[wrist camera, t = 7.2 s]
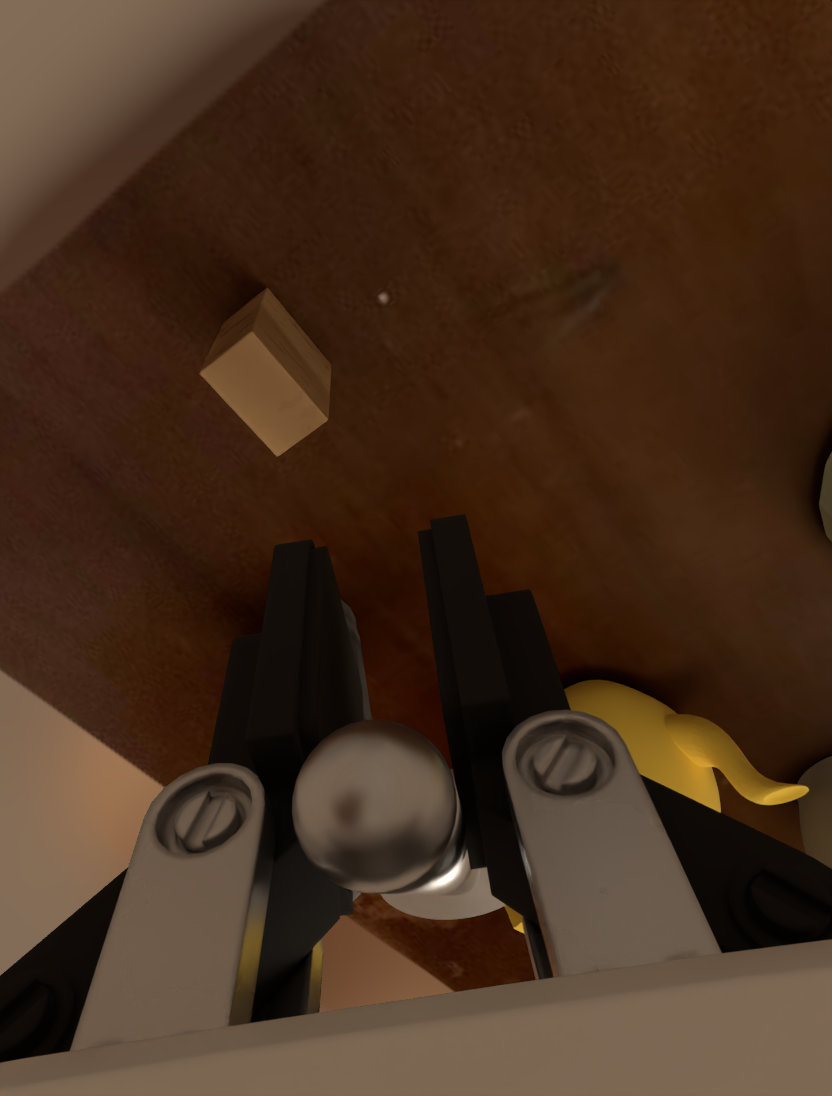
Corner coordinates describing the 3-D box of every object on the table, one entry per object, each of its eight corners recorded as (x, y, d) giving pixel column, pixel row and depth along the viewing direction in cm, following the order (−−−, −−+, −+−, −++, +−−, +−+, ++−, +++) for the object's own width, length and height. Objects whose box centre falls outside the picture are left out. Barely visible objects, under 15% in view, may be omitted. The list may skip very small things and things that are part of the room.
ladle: (529, 850, 26) (635, 1335, 16) (387, 871, 26) (411, 1366, 16) (473, 290, 15) (689, 775, 6) (229, 331, 15) (37, 875, 6)
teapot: (725, 649, 42) (817, 794, 34) (679, 812, 50) (746, 965, 41) (476, 660, 42) (507, 811, 33) (466, 824, 49) (490, 983, 40)
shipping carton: (288, 398, 33) (277, 457, 28) (222, 323, 31) (198, 373, 26) (332, 365, 32) (328, 420, 27) (267, 286, 30) (251, 330, 26)
